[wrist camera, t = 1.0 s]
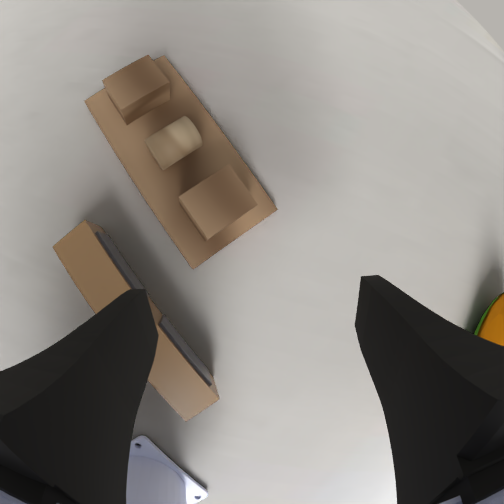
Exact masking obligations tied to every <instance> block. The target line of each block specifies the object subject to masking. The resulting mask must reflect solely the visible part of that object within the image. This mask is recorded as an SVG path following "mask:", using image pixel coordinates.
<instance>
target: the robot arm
mask: <svg viewBox="0 0 504 504" xmlns="http://www.w3.org/2000/svg"><path fill="white" fill-rule="evenodd" d="M355 328H356V332H357V336H358V341H359V344H360V348H361V351H362V354H363V357H364V359H365V362H366V364H367V367H368V369H369V372H370V375H371V377H372V380H373V382H374V385H375V388H376V390H377V393H378V396H379V398H380V401H381V404H382V407H383V411H384V415H385V419H386V424H387V428H388V433H389V438H390V444H391V449H392V455H393V462H394V470H395V479H396V491H397V504H504V346H502V345H499V344H496V343H494V342H491V341H489V340H486V339H484V338H481V337H479V336H477V335H475V334H472V333H470V332H468V331H466V330H464V329H462V328H460V327H458V326H457V325H455V324H453V323H451V322H449V321H447V320H446V319H444V318H442V317H441V316H439V315H437V314H436V313H434V312H433V311H431V310H429V309H428V308H426V307H425V306H423V305H422V304H420V303H419V302H417V301H416V300H414V299H413V298H412V297H410V296H409V295H407V294H406V293H404V292H403V291H402V290H400V289H399V288H397V287H396V286H394V285H393V284H391V283H390V282H389V281H387V280H385V279H384V278H382V277H381V276H379V275H373V276H361V281H360V290H359V298H358V306H357V313H356V320H355ZM158 337H159V334H158V331H157V328H156V324H155V321H154V318H153V314H152V311H151V308H150V304H149V301H148V297H147V293H146V290H145V289H129V290H127V291H126V292H124V293H123V294H121V295H120V296H118V297H117V298H116V299H115V300H113V301H112V302H111V303H109V304H108V305H107V306H106V307H104V308H103V309H102V310H100V311H99V312H98V313H97V314H95V315H94V316H93V317H92V318H90V319H89V320H88V321H86V322H85V323H84V324H82V325H81V326H79V327H78V328H77V329H75V330H74V331H73V332H71V333H70V334H69V335H67V336H66V337H64V338H63V339H61V340H60V341H58V342H57V343H55V344H54V345H52V346H50V347H49V348H47V349H45V350H44V351H42V352H40V353H39V354H37V355H35V356H33V357H31V358H29V359H27V360H25V361H23V362H21V363H19V364H17V365H15V366H12V367H10V368H8V369H5V370H3V371H0V504H195V503H197V502H199V501H201V500H203V499H204V498H206V497H208V491H207V490H206V489H205V488H204V487H202V486H201V485H200V484H199V483H197V482H196V481H195V480H194V479H192V478H191V477H190V476H189V475H188V474H187V473H185V472H184V471H183V470H182V469H181V468H180V467H178V466H177V465H176V464H175V463H174V462H173V461H172V460H171V459H170V458H168V457H167V456H166V455H165V454H164V453H163V452H162V451H161V450H160V449H159V448H158V447H157V446H156V445H155V444H154V443H153V442H152V441H151V440H149V439H148V438H147V437H146V436H138V437H137V438H135V439H133V440H132V441H131V439H132V433H133V428H134V422H135V418H136V414H137V410H138V407H139V404H140V401H141V398H142V395H143V392H144V389H145V386H146V383H147V380H148V377H149V374H150V371H151V368H152V365H153V362H154V358H155V353H156V348H157V343H158ZM135 443H139V444H141V446H137V445H136V444H135ZM197 495H199V496H198V497H197Z"/></svg>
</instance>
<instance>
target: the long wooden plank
mask: <svg viewBox="0 0 504 504" xmlns="http://www.w3.org/2000/svg"><path fill="white" fill-rule="evenodd" d="M53 249H54V250H55V252H56V254H57V255H58V257H59V259H60V260H61V262H62V264H63V265H64V267H65V269H66V270H67V272H68V273H69V275H70V277H71V278H72V280H73V281H74V283H75V284H76V286H77V287H78V289H79V290H80V292H81V293H82V295H83V296H84V298H85V299H86V301H87V302H88V304H89V305H90V307H91V308H92V310H93V311H94V312H95V314H97V313H98V312H99V311H100V310H102V309H103V308H104V307H106V306H107V305H108V304H109V303H111V302H112V301H113V300H115V299H116V298H117V297H118V296H120V295H121V294H123V293H124V292H126V291H127V290H129V289H145V288H144V287H143V285H142V284H141V282H140V281H139V280H138V278H137V277H136V275H135V274H134V272H133V271H132V270H131V268H130V267H129V265H128V264H127V262H126V261H125V259H124V258H123V256H122V255H121V254H120V252H119V251H118V249H117V248H116V246H115V245H114V243H113V241H112V240H111V238H110V237H109V235H107V234H105V232H104V231H103V229H102V227H100V226H98V225H96V224H93V223H91V222H89V221H87V220H84V221H83V222H82V223H80V224H79V225H78V226H77V227H75V228H74V229H73V230H72V231H71V232H69V233H68V234H67V235H66V236H65V237H63V238H62V239H61V240H60V241H59V242H57V243H56V244H55V245H54V246H53ZM145 290H146V289H145ZM146 293H147V297H148V301H149V304H150V308H151V311H152V314H153V318H154V321H155V324H156V328H157V331H158V334H159V337H158V343H157V348H156V353H155V358H154V362H153V365H152V368H151V371H150V374H149V377H148V381H149V382H150V383H151V385H152V386H153V387H154V388H155V389H156V390H157V391H158V393H159V394H160V395H161V396H162V397H163V398H164V399H165V400H166V401H167V402H168V403H169V405H170V406H171V407H172V408H173V409H174V410H175V411H176V412H177V413H178V414H179V415H180V416H181V417H182V418H183V419H184V420H185V421H186V422H187V421H188V420H190V419H191V418H193V417H194V416H196V415H197V414H199V413H200V412H202V411H203V410H204V409H206V408H207V407H209V406H210V405H212V404H213V403H215V402H216V401H218V400H219V395H218V392H217V389H216V385H215V382H214V378H213V377H212V376H211V374H210V373H209V370H208V368H207V367H206V366H205V365H204V364H203V363H202V361H201V360H200V359H199V358H198V357H197V355H196V354H195V353H194V352H193V350H192V349H191V348H190V347H189V346H188V344H187V343H186V342H185V341H184V339H183V338H182V337H181V336H180V334H179V333H178V332H177V330H176V329H175V328H174V327H173V325H172V324H171V323H170V321H169V320H168V319H167V318H166V316H165V315H162V314H161V312H160V311H159V310H158V308H157V307H156V306H155V304H154V303H153V302H152V300H151V299H150V298H149V293H148V292H147V291H146Z"/></svg>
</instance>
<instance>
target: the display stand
mask: <svg viewBox="0 0 504 504" xmlns="http://www.w3.org/2000/svg"><path fill="white" fill-rule="evenodd" d="M102 81H103V84H104V86H105V88H104V89H102V90H101V91H99V92H98V93H96V94H94V95H93V96H91V97H90V98H88V99H87V100H85V103H86V105H87V107H88V108H89V110H90V112H91V114H92V115H93V117H94V119H95V120H96V122H97V124H98V125H99V127H100V129H101V130H102V132H103V134H104V135H105V137H106V139H107V140H108V142H109V144H110V145H111V147H112V148H113V150H114V152H115V153H116V155H117V157H118V158H119V160H120V161H121V163H122V164H123V166H124V168H125V169H126V171H127V172H128V174H129V176H130V177H131V179H132V180H133V182H134V183H135V185H136V186H137V188H138V190H139V191H140V193H141V194H142V196H143V197H144V199H145V200H146V202H147V203H148V205H149V206H150V208H151V209H152V211H153V212H154V214H155V215H156V217H157V218H158V220H159V221H160V223H161V224H162V226H163V227H164V229H165V230H166V232H167V233H168V235H169V236H170V237H171V239H172V240H173V242H174V243H175V245H176V246H177V248H178V249H179V251H180V252H181V253H182V255H183V256H184V258H185V259H186V261H187V262H188V263H189V265H190V266H191V268H192V269H194V268H196V267H197V266H199V265H200V264H201V263H203V262H204V261H206V260H207V259H208V258H210V257H211V256H213V255H214V254H215V253H217V252H218V251H220V250H221V249H222V248H224V247H225V246H227V245H228V244H229V243H231V242H232V241H234V240H235V239H236V238H238V237H239V236H241V235H242V234H244V233H245V232H246V231H248V230H249V229H251V228H252V227H253V226H255V225H256V224H258V223H259V222H261V221H262V220H263V219H265V218H266V217H268V216H269V215H271V214H272V213H273V212H275V211H276V210H278V209H277V208H276V207H275V205H274V204H273V202H272V201H271V199H270V198H269V196H268V195H267V194H266V192H265V191H264V189H263V188H262V186H261V185H260V184H259V182H258V181H257V179H256V178H255V176H254V175H253V174H252V172H251V171H250V169H249V168H248V167H247V165H246V164H245V162H244V161H243V160H242V158H241V157H240V155H239V154H238V153H237V151H236V150H235V148H234V147H233V146H232V144H231V143H230V142H229V140H228V139H227V138H226V136H225V135H224V133H223V132H222V131H221V129H220V128H219V127H218V125H217V124H216V123H215V121H214V120H213V119H212V117H211V116H210V115H209V113H208V112H207V111H206V109H205V108H204V107H203V105H202V104H201V103H200V101H199V100H198V99H197V97H196V96H195V95H194V93H193V92H192V91H191V89H190V88H189V87H188V86H187V84H186V83H185V82H184V80H183V79H182V78H181V76H180V75H179V74H178V73H177V71H176V70H175V69H174V67H173V66H172V65H171V64H170V62H169V61H168V60H167V59H166V57H165V56H162V57H160V58H158V59H156V60H154V61H153V60H152V59H151V57H150V56H149V55H147V56H145V57H143V58H141V59H139V60H137V61H135V62H133V63H131V64H130V65H128V66H126V67H124V68H122V69H121V70H119V71H117V72H115V73H114V74H112V75H110V76H109V77H107V78H105V79H104V80H102Z"/></svg>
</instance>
